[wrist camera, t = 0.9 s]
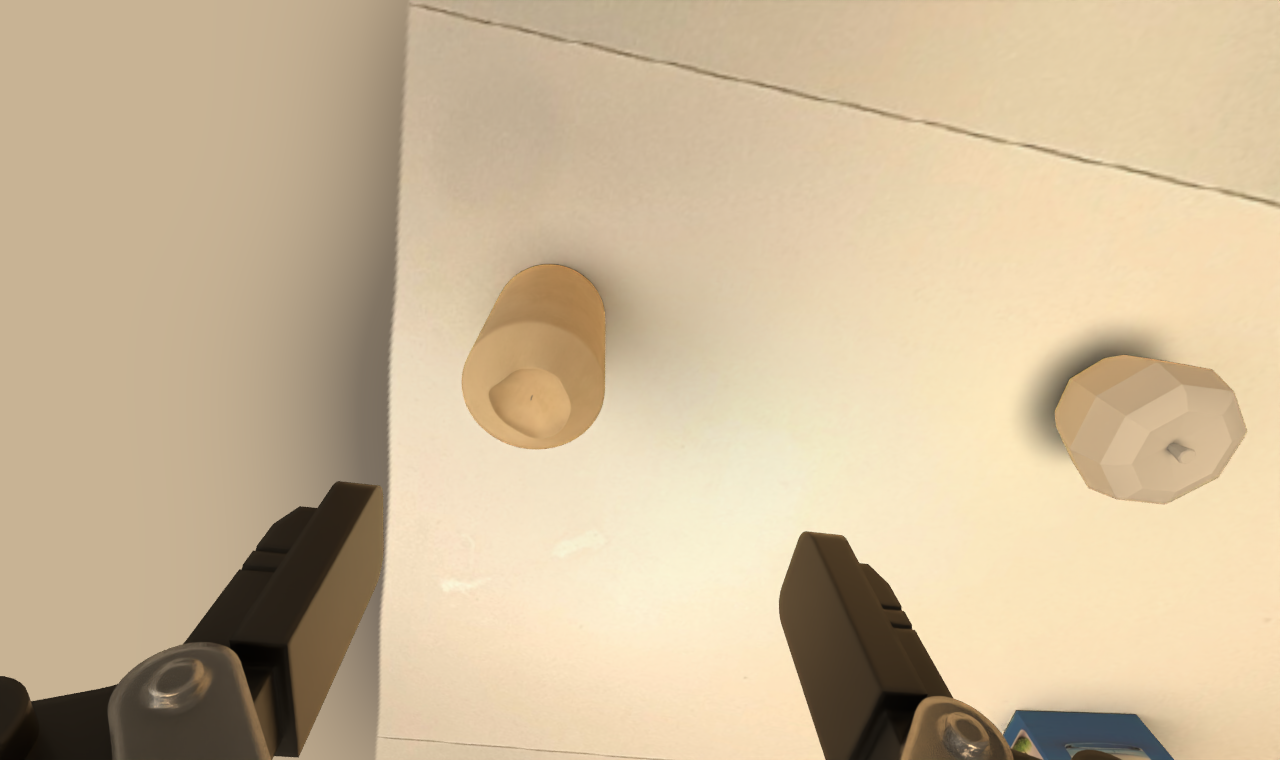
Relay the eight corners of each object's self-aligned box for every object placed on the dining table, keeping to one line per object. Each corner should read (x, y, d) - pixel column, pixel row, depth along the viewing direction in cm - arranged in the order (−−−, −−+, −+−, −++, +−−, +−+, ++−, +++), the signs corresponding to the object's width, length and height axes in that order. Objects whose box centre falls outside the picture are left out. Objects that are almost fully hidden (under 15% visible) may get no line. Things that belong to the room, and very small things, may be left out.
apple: (1022, 348, 34) (1110, 404, 28) (1170, 313, 33) (1291, 362, 28) (1019, 467, 37) (1097, 540, 31) (1153, 437, 37) (1258, 505, 31)
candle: (478, 333, 32) (428, 430, 23) (528, 241, 30) (494, 308, 21) (572, 382, 33) (559, 491, 24) (625, 297, 32) (632, 382, 23)
